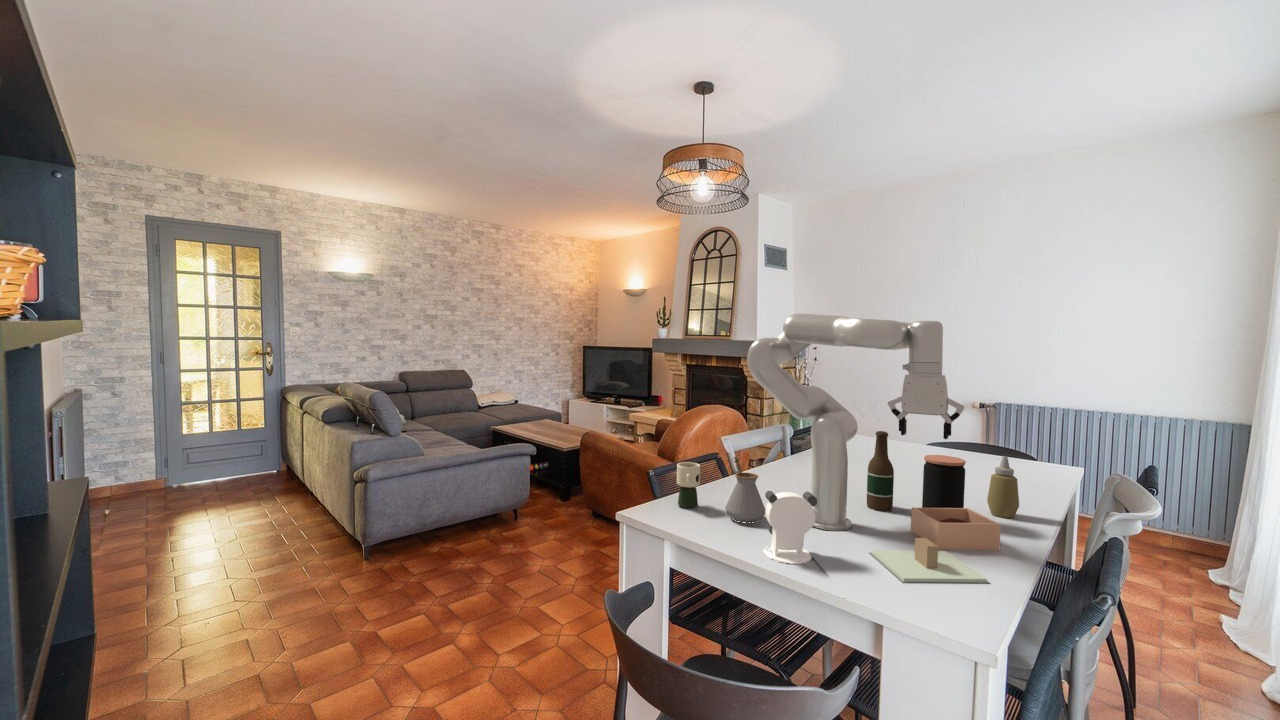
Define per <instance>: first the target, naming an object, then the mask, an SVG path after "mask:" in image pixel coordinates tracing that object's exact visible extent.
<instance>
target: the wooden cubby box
mask: <svg viewBox="0 0 1280 720" xmlns="http://www.w3.org/2000/svg"><path fill="white" fill-rule="evenodd" d="M910 515H911V517H910V533H913V534H915V535H916V536H918V538H926V539H928V540H929V541H931V542H932V543H934V544H935V545H937V546H938V550H968V551H969V550H975V551H976V550H977V551H980V550H981V551H982V550H983V551H984V550H985V551H987V550H989V551H990V550H991V551H993V550H995V551H998V552H1000V548H1001V547H1000V544H1001V523H1000V522H999V523H998V522H996V521H995V520H993V519H990V518H989V517H986V516H985V515H982V514H980V513H978V512H976V511H975V510H973V509H971V508H968V507H964V508H922V507H911V511H910ZM949 518H955V519H960V520H964V521H966V522H968V523H940V521H942V520H944V519H949Z"/></svg>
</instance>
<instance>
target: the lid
mask: <svg viewBox="0 0 1280 720" xmlns="http://www.w3.org/2000/svg"><path fill="white" fill-rule="evenodd" d="M870 553H871V554H872V555H874V556H875V557H876V558H877V559H878V560H879V561H880V562H882V563H883V564H884V565H885V566H886V567H887V568H888V569H890V570H891V571H892V572H893V573H894V574H895V575H896V576H898V577H899V578H900V579H901V580H902V581H903V582H975V583H987V582H988V579H987V577H984V576H983V575H982V574H980V573H979V572H977V571H975V569H972V567H969V566H968V565H966V564H965V563H964V562H962V561H961V560H959V559H958V558H957V557H955V556H953V555H952V554H950V552H949V553H948V552H947V551H945V550H939V549H938V546H937V545H935V544H934V543H932V542H931V541H929V540H928V539H926V538H920V537H915V542H914V550H889V549H888V550H881V549H879V550H878V549H877V550H876V549H872V550H871V551H870Z"/></svg>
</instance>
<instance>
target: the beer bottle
mask: <svg viewBox="0 0 1280 720" xmlns="http://www.w3.org/2000/svg"><path fill="white" fill-rule="evenodd" d="M875 436H876V437H875V446H874V454H873V457H871V459H870V460H869V463H868V464H867V477H866V478H867V479H866V480H867V481H866V505H867V508H868V509H871V510H873V511H878V512H889V511H892V510H893V505H894V486H895V485H894V482H895V481H894V480H895V471H894V470H895V469H894V466H893V464H892V462H891V460H890V458H889V453H888V451H889V450H888V437H889V433H888V432H887V431H884V430H879V431H878V430H877V431H876V432H875Z"/></svg>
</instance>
